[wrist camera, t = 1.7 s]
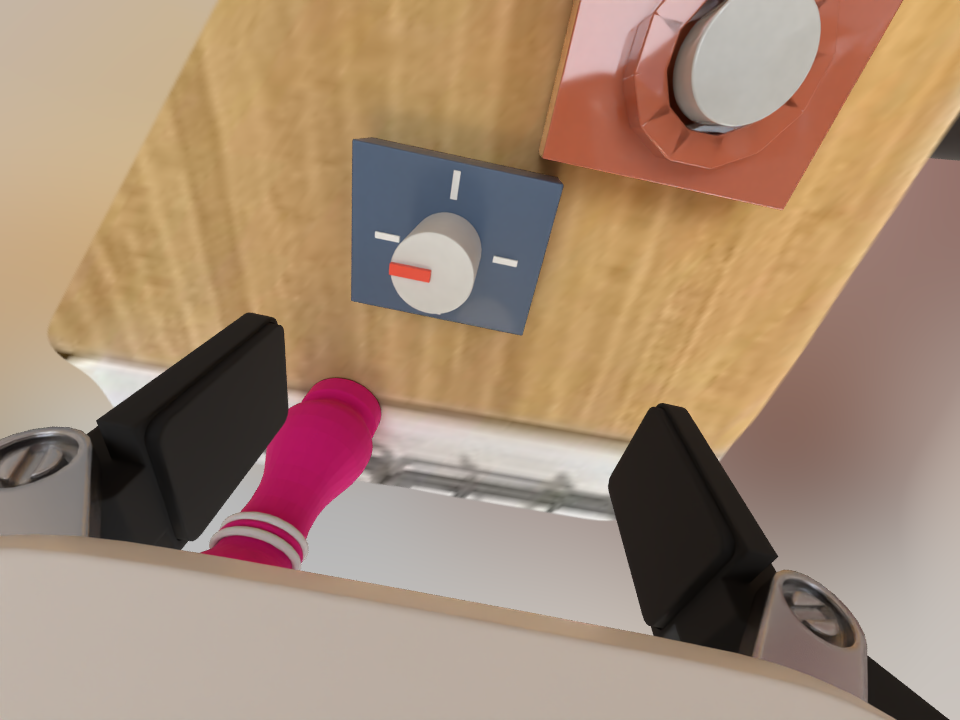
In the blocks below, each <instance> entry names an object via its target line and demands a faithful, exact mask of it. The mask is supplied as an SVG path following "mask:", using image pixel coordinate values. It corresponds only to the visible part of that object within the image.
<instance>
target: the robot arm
mask: <svg viewBox="0 0 960 720" xmlns="http://www.w3.org/2000/svg"><path fill="white" fill-rule="evenodd" d="M287 416H288V394H287V376H286V359H285V341H284V329H283V327H282V326H281V325H278V324H277V321H276V319H275V318H273V317H269V316H264V315H259V314H255V313H246V314H244V315H243V316H241V317H240V318H239V319H237V320H236V321H234V322H233V323H232V324H230V325H229V326H227V327H226V328H225V329H223V330H222V331H220V332H219V333H218V334H216V335H215V336H214V337H212V338H211V339H209V340H208V341H207V342H205V343H204V344H202V345H201V346H200V347H198V348H197V349H195V350H194V351H193V352H191V353H190V354H188V355H187V356H186V357H184V358H183V359H181V360H180V361H179V362H177V363H176V364H174V365H173V366H172V367H170V368H169V369H167V370H166V371H165V372H163V373H162V374H160V375H159V376H158V377H156V378H155V379H154V380H152V381H151V382H149V383H148V384H147V385H145V386H144V387H142V388H141V389H140V390H138V391H137V392H135V393H134V394H133V395H131V396H130V397H128V398H127V399H126V400H124V401H123V402H121V403H120V404H119V405H117V406H116V407H114V408H113V409H112V410H110V411H109V412H107V413H106V414H105V415H103V416H102V417H100V418H99V419H98V420H96V421H97V424H98V426H97V427H96V428H95V429H93V430H92V431H90V432H89V433H88V434H85V433H84V432H83V431H81V430H77V429H73V428H70V427H47V428H38V429H32V430H28V431H24V432H21V433H16V434H13V435H10V436H8V437H5V438H3V439H0V720H949V719H948V718H946V717H945V716H944V715H943V714H941V713H940V712H939V711H938V710H936V709H935V708H934V707H932V706H931V705H930V704H929V703H927V702H926V701H925V700H923V699H922V698H921V697H920V696H918V695H917V694H916V693H915V692H913V691H912V690H911V689H910V688H908V687H907V686H906V685H904V684H903V683H902V682H901V681H899V680H898V679H897V678H895V677H894V676H893V675H892V674H890V673H889V672H888V671H886V670H885V669H884V668H883V667H881V666H880V665H879V664H878V663H876V662H875V661H874V660H872V659H871V658H870V657H869V656H867V643H866V639H865V634H864V633H863V631H862V629H861V627H860V625H859V623H858V621H857V620H856V618H855V617H854V616H853V614H852V613H851V612H850V610H849V609H848V608H847V607H846V606H845V605H844V604H843V603H842V602H841V601H840V600H839V599H838V598H837V597H836V596H835V595H834V594H833V593H832V592H831V591H829V590H828V589H827V588H825V587H824V586H823V585H822V584H820V583H819V582H817V581H815V580H814V579H812V578H810V577H809V576H806V575H804V574H802V573H799V572H796V571H792V570H782V571H779V572H776V571H775V569H774V567H773V566H772V564H771V563H772V562H773V561H774V560H775V559H776V558H777V557H778V555H777V554H776V552H775V551H774V549H773V547H772V546H771V544H770V543H769V541H768V539H767V538H766V537H765V535H764V533H763V531H762V530H761V528H760V527H759V525H758V524H757V522H756V520H755V519H754V517H753V515H752V514H751V512H750V511H749V509H748V507H747V506H746V504H745V502H744V501H743V499H742V498H741V496H740V494H739V493H738V491H737V490H736V488H735V486H734V485H733V483H732V482H731V480H730V478H729V477H728V475H727V474H726V472H725V470H724V469H723V467H722V466H721V464H720V462H719V461H718V459H717V458H716V456H715V454H714V453H713V451H712V450H711V448H710V446H709V445H708V443H707V441H706V440H705V438H704V437H703V435H702V433H701V432H700V430H699V429H698V427H697V425H696V424H695V422H694V421H693V419H692V417H691V416H690V414H689V413H688V411H687V410H686V409H685V408H683V407H678V406H674V405H669V404H665V403H660V404H658V405H657V406H656V407H651V408H650V409H649V410H648V412H647V413H646V415H645V417H644V419H643V420H642V422H641V424H640V426H639V427H638V429H637V431H636V433H635V434H634V436H633V438H632V440H631V441H630V443H629V445H628V447H627V448H626V450H625V452H624V454H623V455H622V457H621V459H620V461H619V462H618V464H617V466H616V468H615V469H614V471H613V473H612V474H611V476H610V479H609V484H608V489H609V494H610V498H611V501H612V505H613V509H614V512H615V516H616V520H617V523H618V527H619V531H620V534H621V538H622V542H623V545H624V549H625V553H626V556H627V560H628V563H629V567H630V571H631V575H632V578H633V582H634V586H635V589H636V593H637V597H638V600H639V604H640V608H641V611H642V615H643V618H644V621H645V622H646V624H647V625H649V626H651V628H652V632H653V635H654V636H651V635H646V634H641V633H635V632H630V631H625V630H620V629H614V628H609V627H604V626H598V625H593V624H588V623H582V622H577V621H572V620H567V619H562V618H556V617H551V616H546V615H541V614H535V613H530V612H524V611H519V610H514V609H508V608H503V607H498V606H492V605H487V604H481V603H475V602H470V601H465V600H459V599H454V598H449V597H443V596H438V595H432V594H427V593H421V592H416V591H410V590H405V589H399V588H394V587H389V586H383V585H377V584H371V583H366V582H360V581H355V580H350V579H344V578H339V577H333V576H327V575H322V574H316V573H311V572H305V571H299V570H294V569H288V568H282V567H277V566H271V565H266V564H260V563H254V562H249V561H243V560H238V559H232V558H226V557H220V556H214V555H208V554H202V553H196V552H189V551H183V550H181V549H182V548H183V547H184V545H185V544H186V543H187V542H188V541H194V540H196V539H197V538H198V537H199V536H200V535H201V534H202V533H203V531H204V530H205V529H206V527H207V526H208V525H209V523H210V522H211V521H212V519H213V518H214V517H215V515H216V514H217V513H218V511H219V510H220V509H221V507H222V506H223V505H224V503H225V502H226V501H227V499H228V498H229V497H230V495H231V494H232V493H233V491H234V490H235V489H236V487H237V486H238V485H239V483H240V482H241V481H242V479H243V478H244V476H245V475H246V474H247V473H248V471H249V470H250V469H251V467H252V466H253V465H254V463H255V462H256V461H257V459H258V458H259V457H260V455H261V454H262V453H263V451H264V450H265V449H266V447H267V446H268V445H269V443H270V442H271V441H272V439H273V438H274V437H275V435H276V434H277V433H278V432H279V430H280V429H281V428H282V426H283V425H284V423H285V421H286V419H287Z"/></svg>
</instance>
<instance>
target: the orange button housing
mask: <svg viewBox="0 0 960 720" xmlns="http://www.w3.org/2000/svg"><path fill="white" fill-rule="evenodd" d="M722 1H724V0H574V2H573V6H572V10H571V14H570V19H569V23H568V27H567V31H566V36H565V40H564V44H563V49H562V53H561V57H560V61H559V66H558V70H557V74H556V78H555V83H554V87H553V91H552V96H551V100H550V104H549V108H548V113H547V117H546V121H545V125H544V130H543V134H542V138H541V143H540V147H539V151H538V152H539V154H540V155H541V157H542V158H543V159H547V160H552V161H556V162H561V163H566V164H570V165H575V166H580V167H584V168H589V169H593V170H598V171H603V172H607V173H612V174H617V175H621V176H626V177H630V178H635V179H640V180H644V181H649V182H654V183H658V184H663V185H667V186H672V187H677V188H681V189H686V190H691V191H695V192H700V193H704V194H709V195H714V196H718V197H723V198H728V199H732V200H737V201H741V202H746V203H751V204H755V205H760V206H765V207H769V208H774V209H778V210H783V209H784V207H785V206H786V204H787V202H788V200H789V199H790V197H791V195H792V193H793V192H794V190H795V188H796V186H797V185H798V183H799V181H800V179H801V178H802V176H803V174H804V172H805V171H806V169H807V167H808V165H809V164H810V162H811V160H812V158H813V157H814V155H815V153H816V152H817V150H818V148H819V146H820V145H821V143H822V141H823V139H824V138H825V136H826V134H827V132H828V131H829V129H830V127H831V125H832V124H833V122H834V120H835V118H836V117H837V115H838V113H839V111H840V110H841V108H842V106H843V104H844V103H845V101H846V99H847V97H848V96H849V94H850V92H851V90H852V89H853V87H854V85H855V83H856V82H857V80H858V78H859V76H860V75H861V73H862V71H863V69H864V68H865V66H866V64H867V62H868V61H869V59H870V57H871V55H872V54H873V52H874V50H875V48H876V47H877V45H878V43H879V41H880V40H881V38H882V36H883V34H884V33H885V31H886V29H887V27H888V26H889V24H890V22H891V20H892V19H893V17H894V15H895V14H896V12H897V10H898V8H899V7H900V5H901V3H902V1H903V0H815V2H816V5H817V7H818V11H819V14H820V21H821V34H820V42H819V46H818V51H817V54H816V57H815V60H814V62H813V64H812V67H811V69H810V71H809V73H808V74H807V76H806V78H805V80H804V81H803V83H802V84H801V85H800V87H799V88H798V90H797V91H796V92H795V93H794V94H793V96H792V97H791V98H790V99H789V100H788V101H787V102H786V103H785V104H784V105H782V106H781V107H780V108H779V109H778V110H776V111H775V112H773V113H772V114H770V115H769V116H767V117H765V118H763V119H762V120H759V121H757V122H755V123H752V124H748V125H744V126H736V127H726V126H705V125H700V124H697V123H695V122H693V121H691V120H690V119H689V118H687V117H686V116H685V115H684V114H683V113H682V111H681V110H680V108H679V106H678V104H677V102H676V99H675V96H674V91H673V70H674V65H675V61H676V58H677V55H678V52H679V50H680V47H681V45H682V43H683V41H684V39H685V37H686V36H687V34H688V33H689V31H690V30H691V28H692V27H693V26H694V25H695V23H696V22H697V21H698V20H699V19H700V18H701V17H702V16H703V15H704V14H705V13H706V12H708V11H709V10H710V9H711V8H713V7H714V6H716V5H717V4H719V3H721V2H722Z"/></svg>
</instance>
